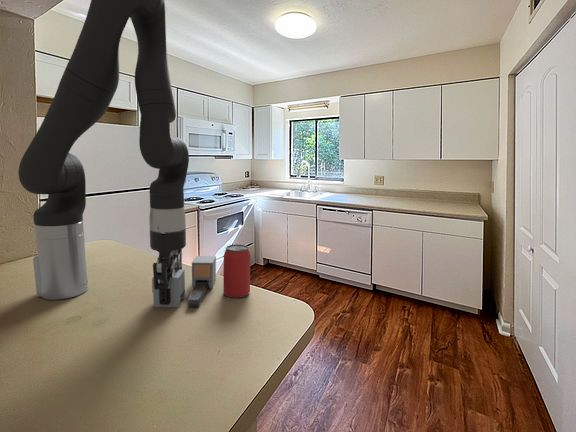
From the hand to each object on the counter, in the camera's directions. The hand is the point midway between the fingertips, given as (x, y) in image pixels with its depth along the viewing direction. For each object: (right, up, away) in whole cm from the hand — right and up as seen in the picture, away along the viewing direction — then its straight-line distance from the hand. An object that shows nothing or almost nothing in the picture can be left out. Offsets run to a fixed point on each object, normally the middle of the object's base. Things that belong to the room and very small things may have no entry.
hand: (169, 296), depth 73 cm
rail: (+6, 0, +6) cm, 8 cm away
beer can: (+14, -1, +6) cm, 16 cm away
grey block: (0, -1, 0) cm, 1 cm away
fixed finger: (+5, +1, +11) cm, 12 cm away
